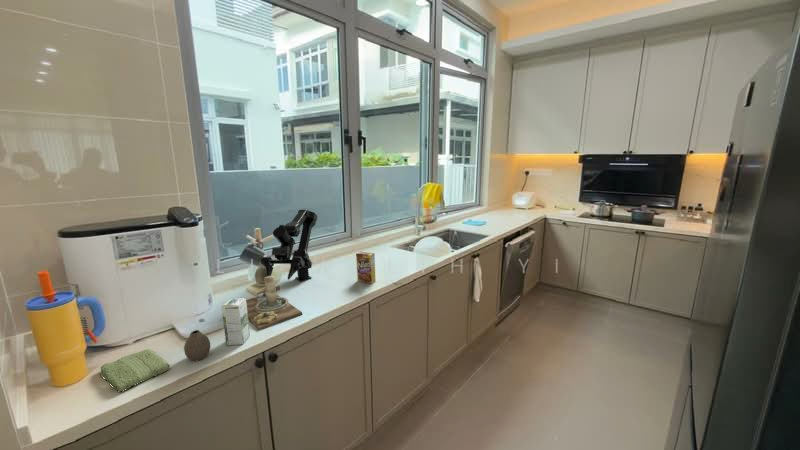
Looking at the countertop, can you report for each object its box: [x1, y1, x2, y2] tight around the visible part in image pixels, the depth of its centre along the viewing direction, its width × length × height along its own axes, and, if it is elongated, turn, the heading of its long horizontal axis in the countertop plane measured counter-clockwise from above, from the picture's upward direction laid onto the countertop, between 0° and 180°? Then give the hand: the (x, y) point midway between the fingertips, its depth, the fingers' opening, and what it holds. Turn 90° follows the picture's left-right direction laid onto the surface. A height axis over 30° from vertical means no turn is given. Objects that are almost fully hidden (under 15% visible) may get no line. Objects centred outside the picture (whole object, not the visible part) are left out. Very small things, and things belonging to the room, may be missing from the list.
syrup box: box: [221, 297, 250, 346], centre depth 105 cm, size 6×6×14 cm
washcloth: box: [99, 348, 171, 392], centre depth 91 cm, size 13×18×3 cm
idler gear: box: [262, 275, 283, 309], centre depth 128 cm, size 8×8×13 cm
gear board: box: [246, 292, 303, 331], centre depth 129 cm, size 30×17×3 cm, turn 44°
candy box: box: [355, 250, 376, 284], centre depth 157 cm, size 9×4×15 cm, turn 64°
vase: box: [183, 329, 211, 362], centre depth 97 cm, size 7×7×9 cm
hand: (278, 279), depth 135 cm, fingers open, 9 cm apart
